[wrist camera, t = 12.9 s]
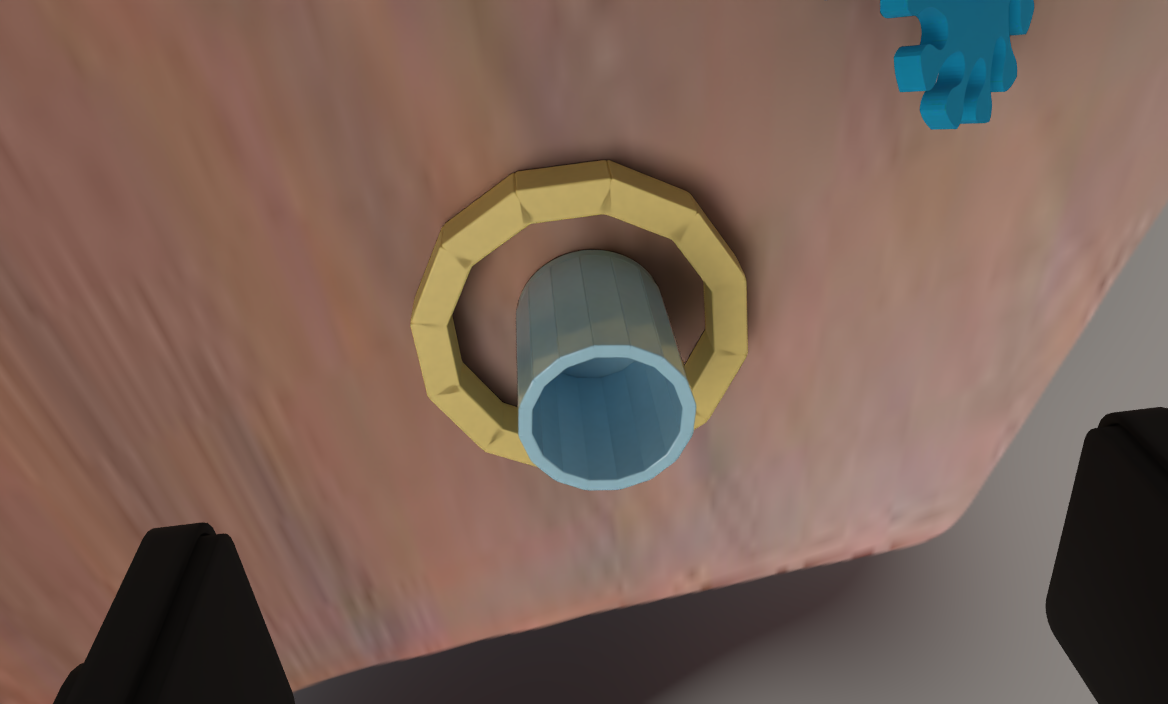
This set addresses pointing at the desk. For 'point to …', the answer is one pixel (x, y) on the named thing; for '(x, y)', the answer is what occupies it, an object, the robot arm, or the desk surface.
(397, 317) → the desk surface
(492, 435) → the ring
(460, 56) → the desk surface
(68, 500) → the desk surface
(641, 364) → the cup
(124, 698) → the robot arm
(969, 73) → the blue branched piece
